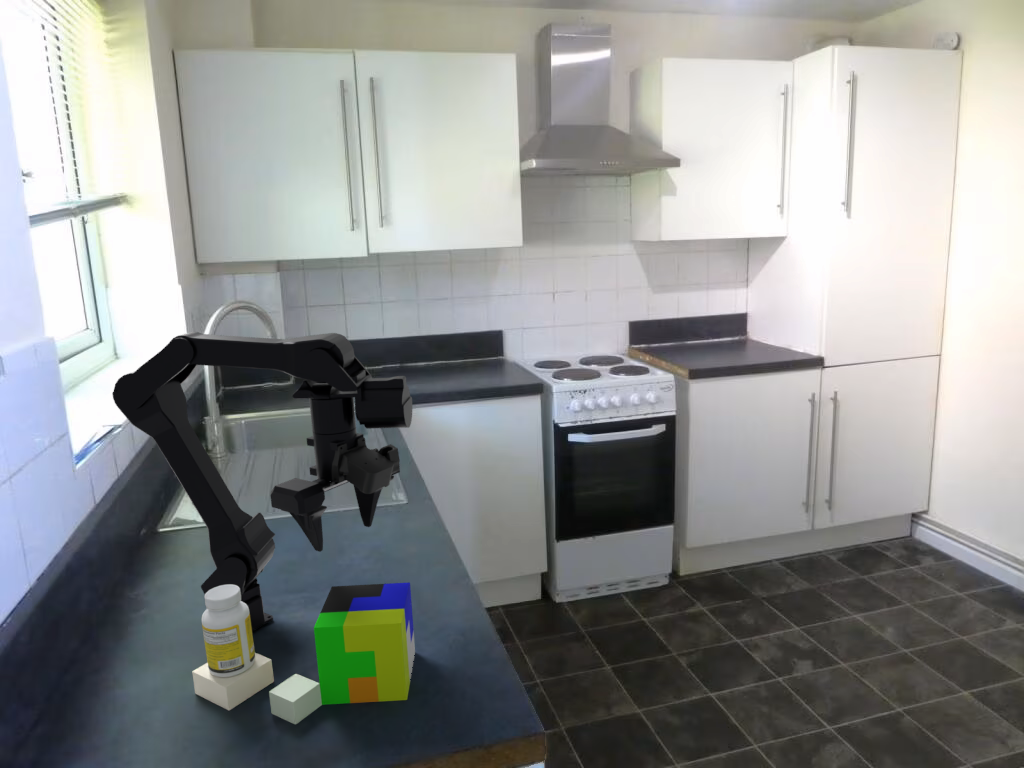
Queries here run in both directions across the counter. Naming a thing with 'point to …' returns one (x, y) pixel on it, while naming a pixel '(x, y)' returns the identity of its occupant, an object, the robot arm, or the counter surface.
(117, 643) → the counter surface
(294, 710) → the brick
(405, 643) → the puzzle toy
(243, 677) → the base brick
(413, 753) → the counter surface
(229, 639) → the supplement bottle
